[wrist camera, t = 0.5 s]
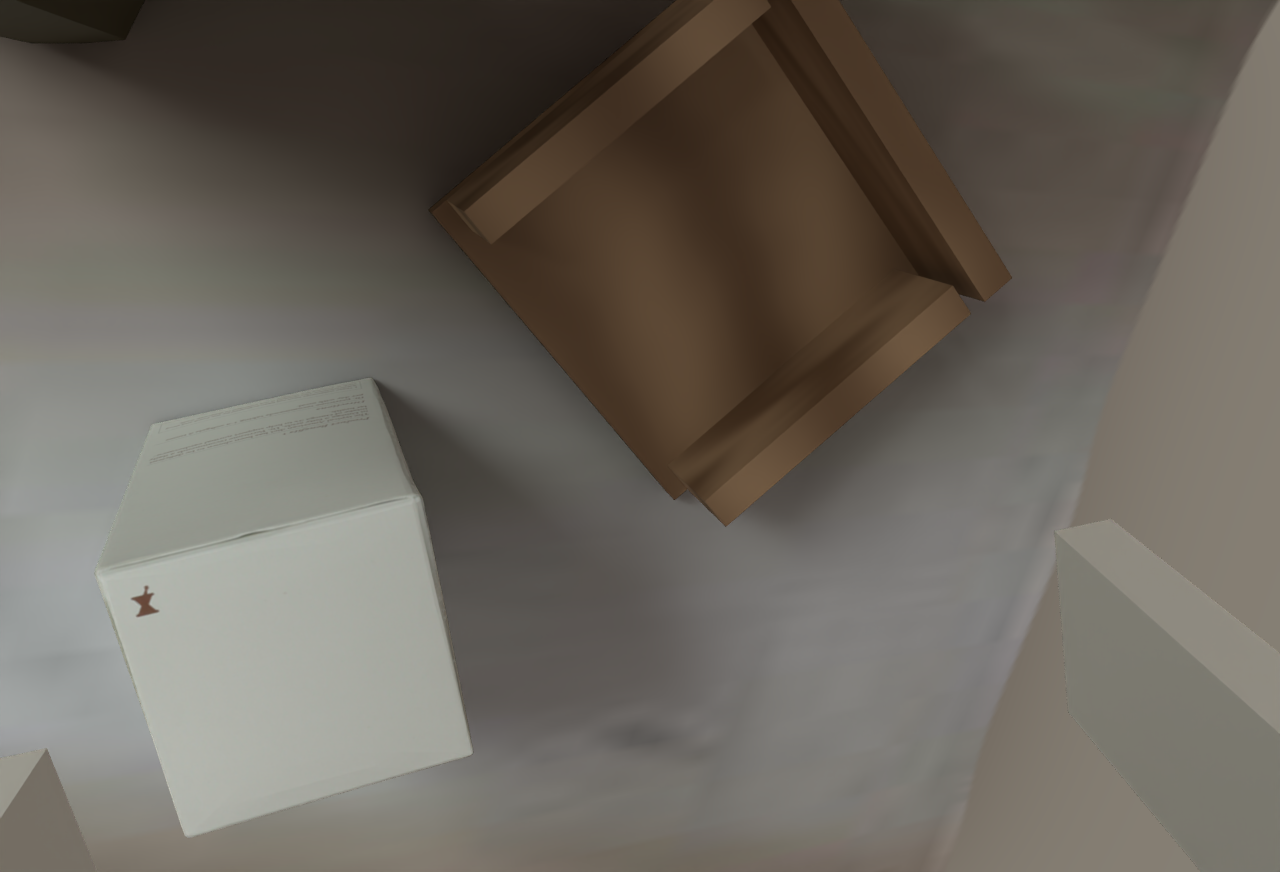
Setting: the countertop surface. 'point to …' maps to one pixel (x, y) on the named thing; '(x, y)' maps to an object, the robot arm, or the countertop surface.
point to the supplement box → (282, 606)
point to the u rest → (727, 239)
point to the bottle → (67, 20)
